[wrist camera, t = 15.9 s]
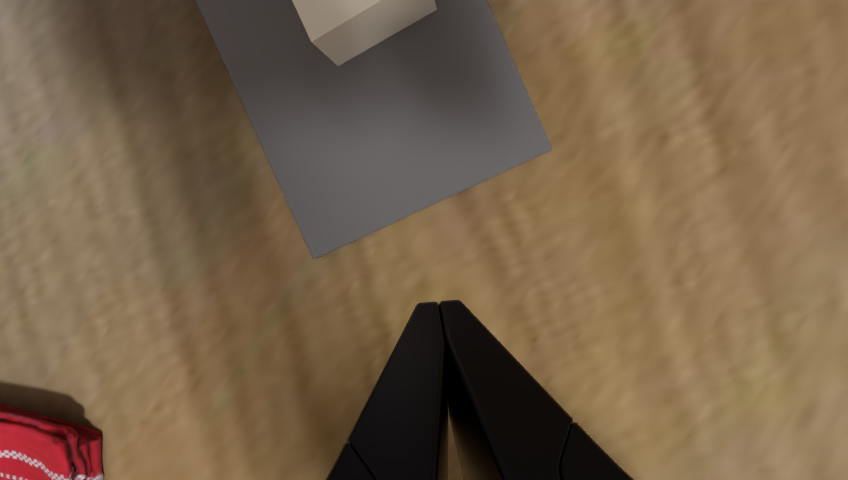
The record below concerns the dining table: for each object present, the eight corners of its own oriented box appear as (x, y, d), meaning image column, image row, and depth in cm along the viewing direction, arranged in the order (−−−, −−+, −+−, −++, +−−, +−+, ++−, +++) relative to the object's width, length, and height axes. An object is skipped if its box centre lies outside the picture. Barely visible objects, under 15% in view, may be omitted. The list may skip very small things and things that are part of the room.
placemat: (550, 150, 18) (552, 148, 17) (318, 257, 20) (312, 259, 19) (362, -273, 17) (358, -290, 17) (148, -118, 20) (137, -128, 19)
